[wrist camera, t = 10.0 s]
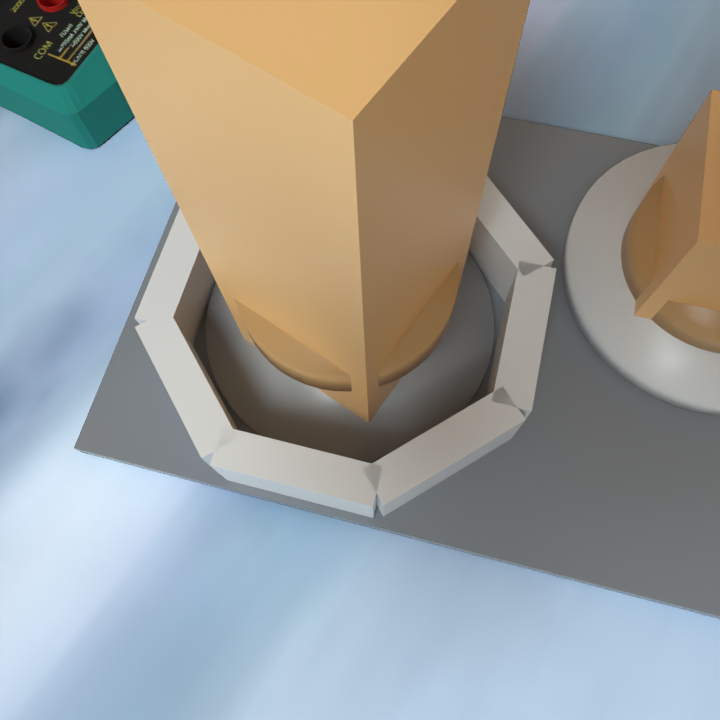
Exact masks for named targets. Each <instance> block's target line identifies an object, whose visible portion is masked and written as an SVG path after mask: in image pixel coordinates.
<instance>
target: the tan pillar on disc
mask: <svg viewBox="0 0 720 720" xmlns="http://www.w3.org/2000/svg"><path fill="white" fill-rule="evenodd" d="M78 2H79V4H80V6H81V8H82V10H83V12H84V14H85V16H86V18H87V20H88V23H89V25H90V27H91V29H92V31H93V33H94V35H95V37H96V39H97V41H98V43H99V45H100V47H101V49H102V51H103V53H104V55H105V57H106V59H107V61H108V63H109V65H110V67H111V69H112V71H113V73H114V75H115V77H116V79H117V81H118V83H119V86H120V88H121V90H122V92H123V94H124V96H125V98H126V100H127V102H128V104H129V106H130V108H131V110H132V112H133V114H134V116H135V118H136V120H137V122H138V124H139V126H140V128H141V130H142V132H143V134H144V136H145V138H146V140H147V142H148V144H149V147H150V149H151V151H152V153H153V155H154V157H155V159H156V161H157V163H158V165H159V167H160V169H161V171H162V173H163V175H164V177H165V179H166V181H167V183H168V185H169V187H170V189H171V191H172V193H173V195H174V197H175V199H176V201H177V203H178V205H179V207H180V210H181V212H182V214H183V216H184V218H185V220H186V222H187V224H188V226H189V228H190V230H191V232H192V234H193V236H194V238H195V240H196V242H197V244H198V246H199V248H200V250H201V252H202V254H203V256H204V258H205V260H206V262H207V264H208V266H209V268H210V271H211V273H212V275H213V277H214V279H215V281H216V283H217V285H218V287H219V289H220V291H221V293H222V295H223V297H224V299H225V301H226V303H227V305H228V307H229V309H230V311H231V313H232V315H233V317H234V319H235V321H236V323H237V325H238V327H239V329H240V331H241V334H242V336H243V338H244V339H245V340H246V341H248V342H249V343H251V344H252V345H254V346H255V347H257V348H258V350H259V351H260V352H261V354H262V355H263V356H264V357H265V358H266V359H267V360H268V361H269V362H270V363H271V364H272V365H273V366H274V367H276V368H277V369H278V370H280V371H281V372H282V373H284V374H285V375H287V376H289V377H291V378H292V379H294V380H296V381H299V382H301V383H303V384H306V385H308V386H312V387H316V388H317V389H319V390H320V391H322V392H323V393H325V394H326V395H328V396H329V397H331V398H332V399H334V400H335V401H337V402H338V403H339V404H341V405H342V406H344V407H345V408H347V409H348V410H350V411H351V412H353V413H354V414H356V415H357V416H359V417H360V418H362V419H363V420H365V421H366V422H368V423H369V422H370V421H371V420H372V418H373V417H374V415H375V414H376V413H377V411H378V410H379V408H380V407H381V406H382V404H383V403H384V402H385V400H386V399H387V397H388V396H389V395H390V393H391V392H392V390H393V389H394V388H395V386H396V385H397V384H398V382H399V381H400V379H401V378H402V377H403V376H405V375H407V374H408V373H409V372H411V371H412V370H414V369H415V368H416V367H418V366H419V365H420V364H421V363H422V362H423V361H424V360H425V359H427V358H428V357H429V355H430V354H431V353H432V352H433V351H434V349H435V348H436V347H437V345H438V344H439V342H440V341H441V339H442V337H443V336H444V334H445V331H446V329H447V327H448V325H449V322H450V318H451V314H452V311H453V307H454V305H455V302H456V298H457V294H458V290H459V286H460V282H461V278H462V274H463V270H464V266H465V262H466V258H467V254H468V250H469V246H470V242H471V237H472V233H473V229H474V225H475V221H476V217H477V213H478V209H479V205H480V201H481V197H482V193H483V189H484V185H485V181H486V177H487V173H488V169H489V165H490V161H491V157H492V153H493V149H494V145H495V141H496V137H497V132H498V128H499V124H500V120H501V116H502V112H503V108H504V104H505V100H506V96H507V92H508V88H509V84H510V80H511V76H512V72H513V68H514V64H515V60H516V56H517V52H518V48H519V44H520V40H521V36H522V31H523V27H524V23H525V19H526V15H527V11H528V7H529V3H530V0H78Z"/></svg>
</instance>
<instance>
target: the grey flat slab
mask: <svg viewBox="0 0 720 720" xmlns="http://www.w3.org/2000/svg"><path fill="white" fill-rule="evenodd" d="M74 448H75V449H77V450H79V451H80V452H83V453H87V454H91V455H95V456H98V457H102V458H106V459H110V460H114V461H118V462H121V463H125V464H129V465H133V466H137V467H141V468H144V469H148V470H152V471H156V472H160V473H164V474H167V475H171V476H175V477H179V478H183V479H187V480H190V481H194V482H198V483H202V484H206V485H210V486H213V487H217V488H221V489H225V490H229V491H233V492H236V493H240V494H244V495H248V496H252V497H255V498H259V499H263V500H267V501H271V502H275V503H278V504H282V505H286V506H290V507H294V508H298V509H301V510H305V511H309V512H313V513H317V514H321V515H324V516H328V517H332V518H336V519H340V520H344V521H347V522H351V523H355V524H359V525H363V526H367V527H370V528H374V529H378V530H382V531H386V532H390V533H393V534H397V535H401V536H405V537H409V538H413V539H416V540H420V541H424V542H428V543H432V544H436V545H439V546H443V547H447V548H451V549H455V550H459V551H462V552H466V553H470V554H474V555H478V556H482V557H485V558H489V559H493V560H497V561H501V562H505V563H508V564H512V565H516V566H520V567H524V568H527V569H531V570H535V571H539V572H543V573H547V574H550V575H554V576H558V577H562V578H566V579H570V580H573V581H577V582H581V583H585V584H589V585H593V586H596V587H600V588H604V589H608V590H612V591H616V592H619V593H623V594H627V595H631V596H635V597H639V598H642V599H646V600H650V601H654V602H658V603H662V604H665V605H669V606H673V607H677V608H681V609H685V610H688V611H692V612H696V613H700V614H704V615H708V616H711V617H715V618H719V619H720V91H717V90H711V92H710V93H709V95H708V97H707V98H706V100H705V101H704V103H703V104H702V106H701V108H700V109H699V111H698V112H697V114H696V115H695V117H694V119H693V120H692V122H691V123H690V125H689V126H688V128H687V130H686V131H685V133H684V134H683V136H682V137H681V139H680V141H679V142H678V143H676V144H669V145H664V146H657V145H652V144H647V143H641V142H636V141H630V140H625V139H619V138H614V137H609V136H603V135H598V134H592V133H587V132H582V131H576V130H571V129H565V128H560V127H554V126H549V125H544V124H538V123H533V122H527V121H522V120H517V119H511V118H506V117H501V120H500V124H499V128H498V132H497V137H496V141H495V145H494V149H493V153H492V157H491V161H490V165H489V169H488V173H487V177H486V181H485V185H484V189H483V193H482V197H481V201H480V205H479V209H478V213H477V217H476V221H475V225H474V229H473V233H472V237H471V242H470V246H469V250H468V254H467V258H466V262H465V266H464V270H463V274H462V278H461V282H460V286H459V290H458V294H457V298H456V302H455V305H454V307H453V311H452V314H451V318H450V322H449V325H448V327H447V329H446V331H445V334H444V336H443V337H442V339H441V341H440V342H439V344H438V345H437V347H436V348H435V349H434V351H433V352H432V353H431V354H430V355H429V357H428V358H427V359H425V360H424V361H423V362H422V363H421V364H420V365H419V366H418V367H416V368H415V369H414V370H412V371H411V372H409V373H408V374H407V375H405V376H403V377H402V378H401V379H400V381H399V382H398V384H397V385H396V386H395V388H394V389H393V390H392V392H391V393H390V395H389V396H388V397H387V399H386V400H385V402H384V403H383V404H382V406H381V407H380V408H379V410H378V411H377V413H376V414H375V415H374V417H373V418H372V420H371V421H370V422H369V423H368V422H366V421H365V420H363V419H362V418H360V417H359V416H357V415H356V414H354V413H353V412H351V411H350V410H348V409H347V408H345V407H344V406H342V405H341V404H339V403H338V402H337V401H335V400H334V399H332V398H331V397H329V396H328V395H326V394H325V393H323V392H322V391H320V390H319V389H317V388H316V387H312V386H308V385H306V384H303V383H301V382H299V381H296V380H294V379H292V378H291V377H289V376H287V375H285V374H284V373H282V372H281V371H280V370H278V369H277V368H276V367H274V366H273V365H272V364H271V363H270V362H269V361H268V360H267V359H266V358H265V357H264V356H263V355H262V354H261V352H260V351H259V350H258V348H257V347H255V346H254V345H252V344H251V343H249V342H248V341H246V340H245V339H244V338H243V336H242V334H241V331H240V329H239V327H238V325H237V323H236V321H235V319H234V317H233V315H232V313H231V311H230V309H229V307H228V305H227V303H226V301H225V299H224V297H223V295H222V293H221V291H220V289H219V287H218V285H217V283H216V281H215V279H214V277H213V275H212V273H211V271H210V268H209V266H208V264H207V262H206V260H205V258H204V256H203V254H202V252H201V250H200V248H199V246H198V244H197V242H196V240H195V238H194V236H193V234H192V232H191V230H190V228H189V226H188V224H187V222H186V220H185V218H184V216H183V214H182V212H181V210H180V207H179V205H178V203H177V201H176V203H175V206H174V208H173V211H172V213H171V216H170V218H169V220H168V223H167V225H166V228H165V230H164V232H163V235H162V237H161V240H160V242H159V244H158V247H157V249H156V252H155V254H154V256H153V259H152V261H151V264H150V266H149V268H148V271H147V273H146V276H145V278H144V281H143V283H142V285H141V288H140V290H139V293H138V295H137V297H136V300H135V302H134V305H133V307H132V309H131V312H130V314H129V317H128V319H127V321H126V324H125V326H124V329H123V331H122V333H121V336H120V338H119V341H118V343H117V345H116V348H115V350H114V353H113V355H112V358H111V360H110V362H109V365H108V367H107V370H106V372H105V374H104V377H103V379H102V382H101V384H100V386H99V389H98V391H97V394H96V396H95V398H94V401H93V403H92V406H91V408H90V410H89V413H88V415H87V418H86V420H85V422H84V425H83V427H82V430H81V432H80V435H79V437H78V439H77V442H76V444H75V447H74Z"/></svg>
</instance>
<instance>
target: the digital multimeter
mask: <svg viewBox="0 0 720 720" xmlns="http://www.w3.org/2000/svg"><path fill="white" fill-rule="evenodd" d="M1 62H2V63H1ZM3 63H4V64H3ZM5 64H7V65H5ZM8 65H9V66H8ZM10 66H11V67H10ZM13 67H14V68H13ZM15 68H16V69H15ZM17 69H18V70H17ZM20 70H21V71H20ZM48 82H49V83H48ZM0 106H1V107H3V108H6V109H8V110H10V111H12V112H14V113H16V114H18V115H20V116H22V117H24V118H26V119H28V120H30V121H32V122H34V123H36V124H38V125H40V126H42V127H44V128H46V129H47V130H49V131H51V132H53V133H55V134H57V135H59V136H61V137H63V138H65V139H67V140H69V141H71V142H73V143H75V144H77V145H78V146H80V147H82V148H87V149H93V148H96V147H99V146H100V145H101V144H103V143H104V142H105V141H106V140H107V139H109V138H110V137H111V136H112V135H113V134H114V133H116V132H117V131H118V130H119V129H120V128H122V127H123V126H124V125H125V124H126V123H128V122H129V121H130V120H131V119H132V118H133V117H134V114H133V112H132V110H131V108H130V106H129V104H128V102H127V100H126V98H125V96H124V94H123V92H122V90H121V88H120V86H119V83H118V81H117V79H116V77H115V75H114V73H113V71H112V69H111V67H110V65H109V63H108V61H107V59H106V57H105V55H104V53H103V51H102V49H101V47H100V45H99V43H98V41H97V39H96V37H95V35H94V33H93V31H92V29H91V27H90V25H89V23H88V20H87V18H86V16H85V14H84V12H83V10H82V8H81V6H80V4H79V2H78V0H0Z"/></svg>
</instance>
